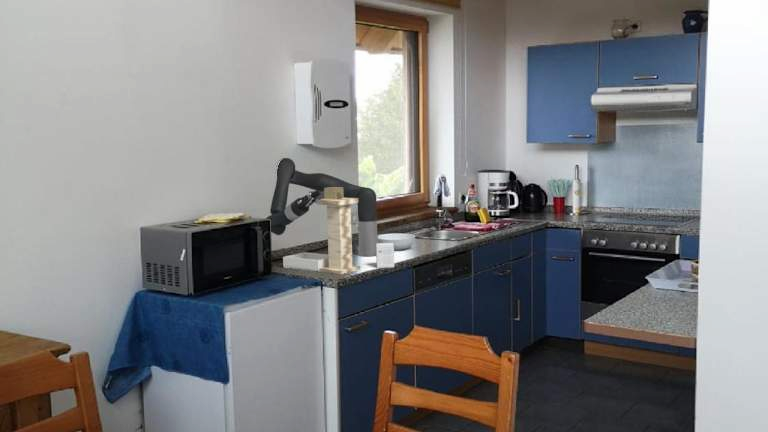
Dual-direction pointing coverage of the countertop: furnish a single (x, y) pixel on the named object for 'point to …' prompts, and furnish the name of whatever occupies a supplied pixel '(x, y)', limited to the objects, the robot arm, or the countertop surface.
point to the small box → (385, 255)
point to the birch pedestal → (339, 235)
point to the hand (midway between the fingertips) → (320, 191)
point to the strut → (330, 193)
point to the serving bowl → (397, 240)
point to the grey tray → (306, 261)
